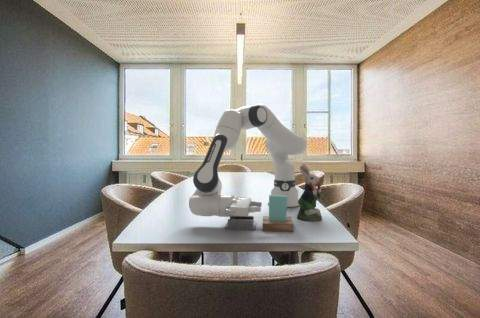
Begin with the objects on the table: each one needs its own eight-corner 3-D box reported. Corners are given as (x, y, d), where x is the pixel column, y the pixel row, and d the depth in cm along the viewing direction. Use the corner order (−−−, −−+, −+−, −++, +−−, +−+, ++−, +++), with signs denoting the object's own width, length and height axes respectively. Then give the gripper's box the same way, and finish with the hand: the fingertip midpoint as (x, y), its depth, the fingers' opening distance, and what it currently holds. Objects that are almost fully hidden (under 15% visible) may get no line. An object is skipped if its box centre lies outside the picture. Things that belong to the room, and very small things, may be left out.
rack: (228, 222, 136) (228, 214, 136) (256, 223, 135) (256, 215, 135) (225, 229, 126) (225, 220, 126) (254, 229, 125) (254, 221, 125)
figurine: (321, 225, 138) (330, 169, 136) (291, 220, 141) (300, 165, 138) (320, 219, 149) (329, 167, 146) (292, 214, 151) (300, 162, 149)
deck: (263, 223, 136) (263, 216, 135) (291, 223, 134) (291, 217, 134) (262, 230, 124) (262, 223, 123) (293, 231, 122) (293, 224, 122)
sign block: (268, 218, 131) (269, 195, 130) (285, 219, 130) (286, 195, 130) (268, 220, 128) (269, 196, 127) (286, 221, 127) (286, 196, 127)
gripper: (224, 203, 120) (260, 204, 119) (230, 194, 141) (261, 195, 139) (224, 219, 121) (260, 220, 119) (230, 208, 141) (261, 209, 140)
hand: (261, 206), depth 129 cm, fingers open, 8 cm apart
